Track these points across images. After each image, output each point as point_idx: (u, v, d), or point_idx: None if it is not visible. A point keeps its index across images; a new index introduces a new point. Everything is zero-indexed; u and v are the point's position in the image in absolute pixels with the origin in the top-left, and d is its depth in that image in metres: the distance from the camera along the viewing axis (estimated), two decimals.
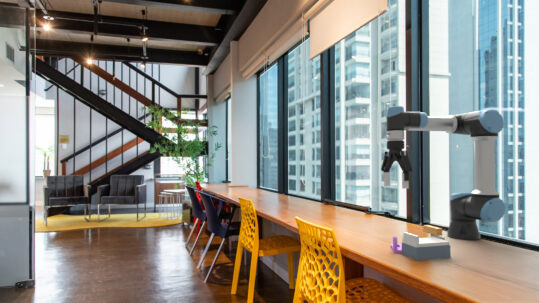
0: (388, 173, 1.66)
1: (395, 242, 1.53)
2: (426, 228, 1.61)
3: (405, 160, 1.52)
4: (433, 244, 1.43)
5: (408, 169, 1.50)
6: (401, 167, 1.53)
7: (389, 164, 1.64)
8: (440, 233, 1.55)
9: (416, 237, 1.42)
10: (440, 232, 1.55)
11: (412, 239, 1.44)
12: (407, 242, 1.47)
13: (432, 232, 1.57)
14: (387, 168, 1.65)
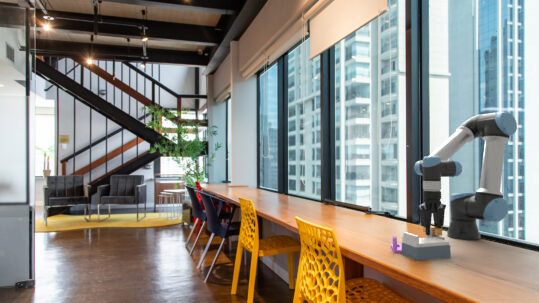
0: None
1: (395, 242, 1.53)
2: None
3: (421, 215, 1.59)
4: (433, 244, 1.43)
5: (422, 224, 1.59)
6: None
7: (434, 216, 1.60)
8: (440, 233, 1.55)
9: (416, 237, 1.42)
10: (440, 232, 1.55)
11: (412, 239, 1.44)
12: (407, 242, 1.47)
13: (432, 232, 1.57)
14: (435, 221, 1.60)
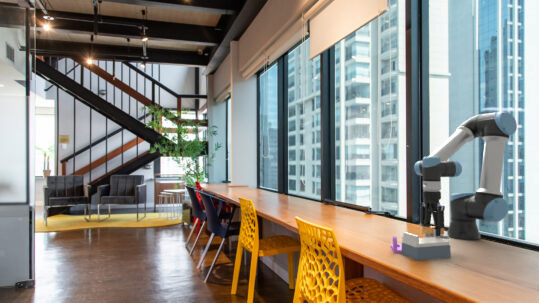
0: None
1: (395, 242, 1.53)
2: (427, 229, 1.59)
3: (440, 216, 1.53)
4: (433, 244, 1.43)
5: (440, 226, 1.53)
6: (434, 221, 1.56)
7: (428, 216, 1.61)
8: None
9: (416, 237, 1.42)
10: None
11: (412, 239, 1.44)
12: (407, 242, 1.47)
13: None
14: (427, 220, 1.62)
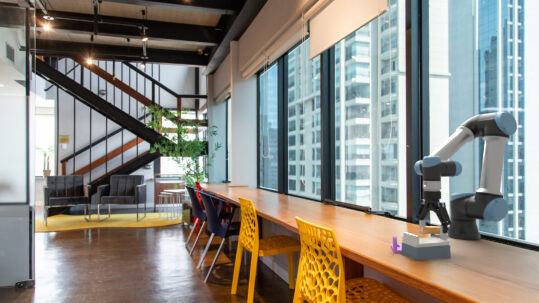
0: (423, 221, 1.66)
1: (395, 242, 1.53)
2: (427, 229, 1.58)
3: (444, 212, 1.51)
4: (433, 244, 1.43)
5: (447, 222, 1.50)
6: (439, 219, 1.53)
7: (425, 213, 1.64)
8: None
9: (416, 237, 1.42)
10: None
11: (412, 239, 1.44)
12: (407, 242, 1.47)
13: (436, 232, 1.58)
14: (422, 216, 1.65)
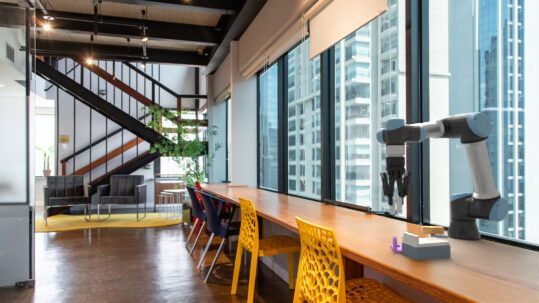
0: (399, 198, 1.44)
1: (395, 242, 1.53)
2: (427, 229, 1.58)
3: (383, 183, 1.44)
4: (433, 244, 1.43)
5: (384, 193, 1.44)
6: None
7: (398, 185, 1.45)
8: None
9: (416, 237, 1.42)
10: None
11: (412, 239, 1.44)
12: (407, 242, 1.47)
13: (436, 232, 1.58)
14: (398, 190, 1.45)
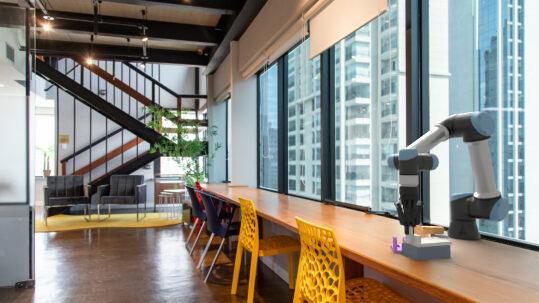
0: None
1: (395, 242, 1.52)
2: (427, 229, 1.58)
3: (398, 213, 1.45)
4: (435, 244, 1.44)
5: None
6: None
7: (410, 214, 1.46)
8: None
9: (418, 237, 1.42)
10: None
11: (414, 239, 1.44)
12: None
13: (436, 232, 1.58)
14: None
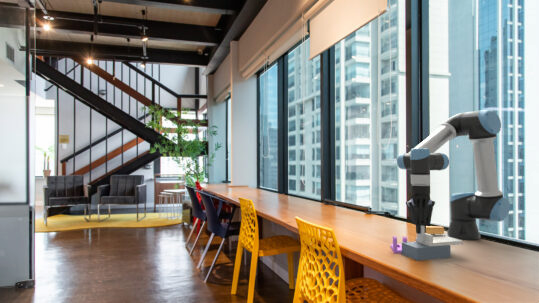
0: None
1: (395, 242, 1.52)
2: (427, 229, 1.58)
3: (409, 212, 1.47)
4: (447, 243, 1.45)
5: (412, 221, 1.47)
6: None
7: (421, 213, 1.48)
8: None
9: (430, 236, 1.44)
10: None
11: (426, 238, 1.46)
12: None
13: (436, 232, 1.58)
14: (421, 218, 1.48)
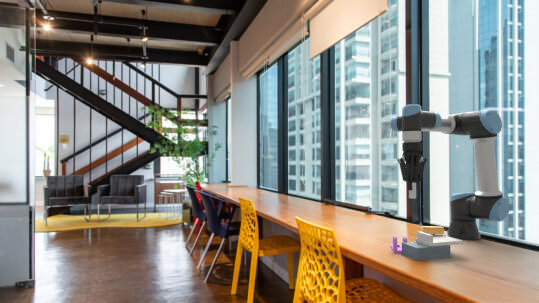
0: None
1: (395, 242, 1.52)
2: (427, 229, 1.58)
3: (401, 169, 1.46)
4: (447, 243, 1.45)
5: (404, 178, 1.46)
6: None
7: (413, 170, 1.47)
8: None
9: (430, 236, 1.44)
10: None
11: (426, 238, 1.46)
12: (421, 241, 1.48)
13: (436, 232, 1.58)
14: None
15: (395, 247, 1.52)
